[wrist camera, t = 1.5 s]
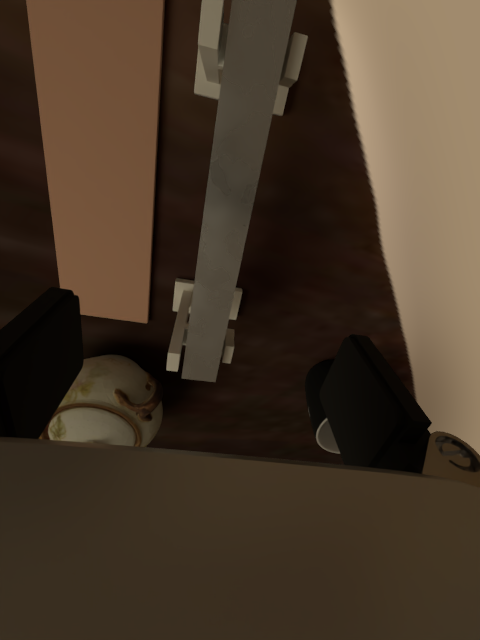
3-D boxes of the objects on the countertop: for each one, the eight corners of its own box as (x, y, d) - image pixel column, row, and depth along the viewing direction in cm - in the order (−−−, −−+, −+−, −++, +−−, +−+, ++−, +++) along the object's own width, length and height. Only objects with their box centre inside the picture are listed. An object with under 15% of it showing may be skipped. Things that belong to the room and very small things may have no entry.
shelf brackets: (200, 34, 25) (184, -49, 14) (293, 61, 26) (347, 4, 15) (173, 306, 38) (153, 377, 27) (235, 315, 39) (241, 387, 28)
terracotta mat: (24, -63, 21) (17, -70, 21) (165, -20, 23) (164, -25, 22) (66, 308, 37) (63, 311, 36) (148, 320, 38) (147, 323, 38)
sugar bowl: (134, 306, 37) (90, 394, 25) (202, 380, 45) (195, 478, 32) (26, 372, 42) (-59, 476, 29) (103, 430, 49) (62, 533, 36)
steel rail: (234, -11, 17) (237, -39, 14) (288, 6, 18) (300, -18, 15) (184, 357, 31) (181, 378, 28) (215, 360, 31) (215, 382, 28)
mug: (286, 376, 45) (301, 433, 36) (335, 341, 42) (365, 394, 33) (330, 413, 50) (352, 471, 41) (377, 385, 47) (412, 441, 38)
